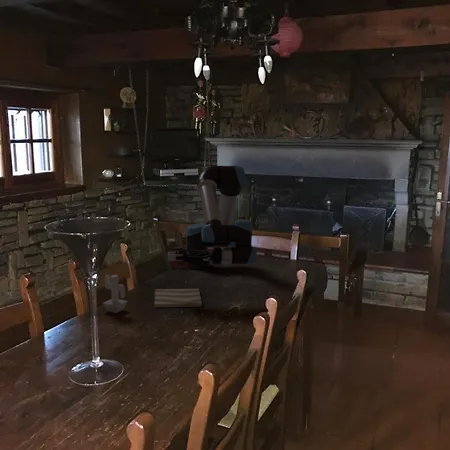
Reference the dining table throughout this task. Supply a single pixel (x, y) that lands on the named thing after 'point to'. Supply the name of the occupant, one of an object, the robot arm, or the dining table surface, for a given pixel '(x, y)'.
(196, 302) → the board
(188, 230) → the robot arm
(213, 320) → the dining table surface
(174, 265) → the lighter
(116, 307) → the figurine
